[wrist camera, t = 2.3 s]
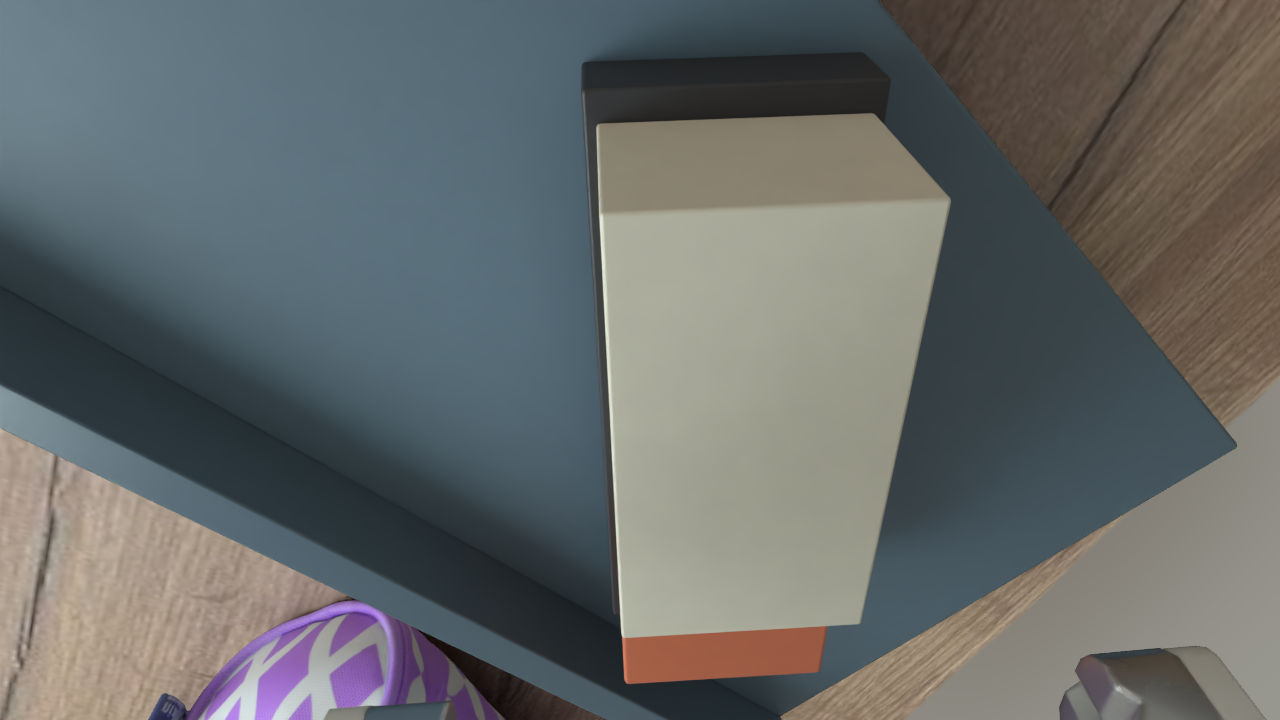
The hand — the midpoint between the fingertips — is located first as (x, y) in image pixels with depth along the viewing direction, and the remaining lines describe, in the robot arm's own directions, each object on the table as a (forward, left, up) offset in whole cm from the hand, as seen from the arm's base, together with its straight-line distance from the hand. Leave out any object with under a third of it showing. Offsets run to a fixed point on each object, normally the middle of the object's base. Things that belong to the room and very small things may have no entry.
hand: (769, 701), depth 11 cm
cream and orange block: (0, 0, -7) cm, 7 cm away
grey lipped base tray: (+1, -1, -13) cm, 13 cm away
